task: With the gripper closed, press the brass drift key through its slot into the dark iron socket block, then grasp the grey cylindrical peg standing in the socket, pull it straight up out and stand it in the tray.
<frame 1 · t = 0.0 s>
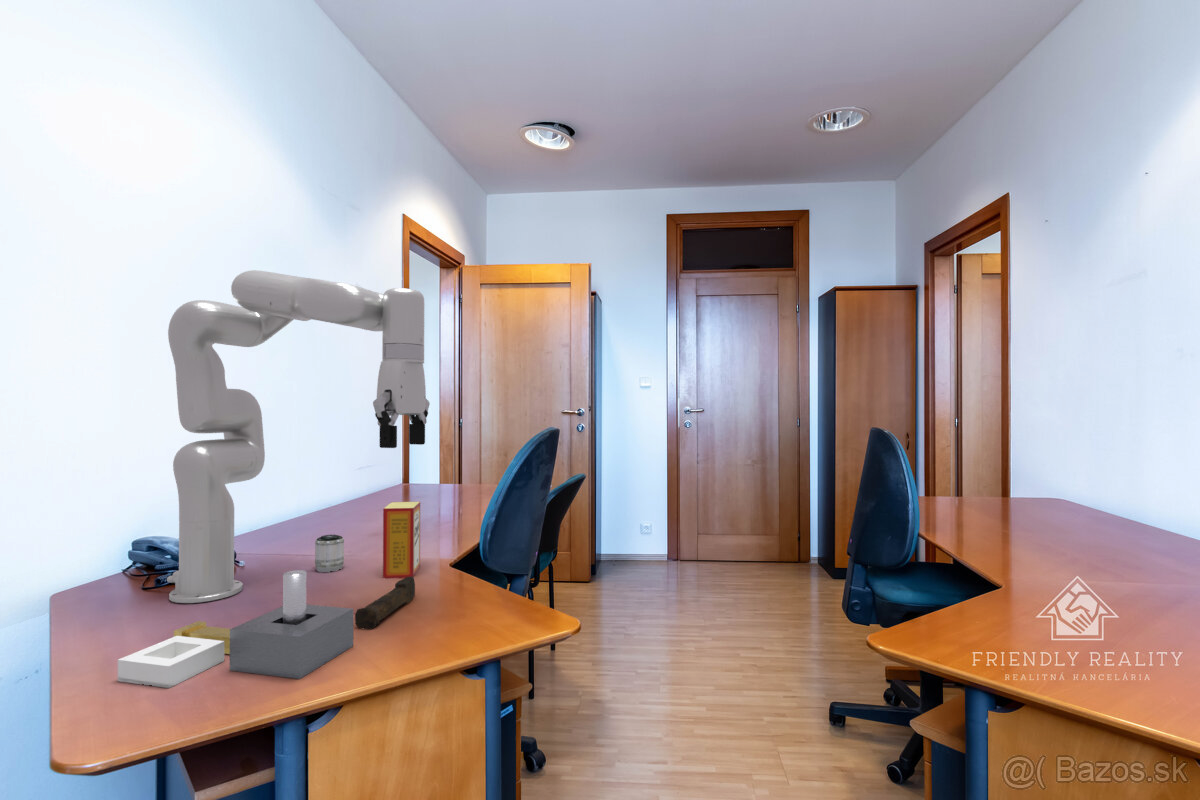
hand: (403, 445, 112), 31 cm above the table, tool pointing down, fingers open, 9 cm apart
baking soda box: (402, 573, 139), on the table
socket: (294, 657, 92), on the table
hand tool: (388, 613, 113), on the table
tray: (173, 670, 87), on the table
grey cylindrical peg: (294, 615, 92), in the socket
key: (218, 638, 95), point 2 cm above the table, slide at 0.0 cm
camera lens: (329, 570, 141), on the table
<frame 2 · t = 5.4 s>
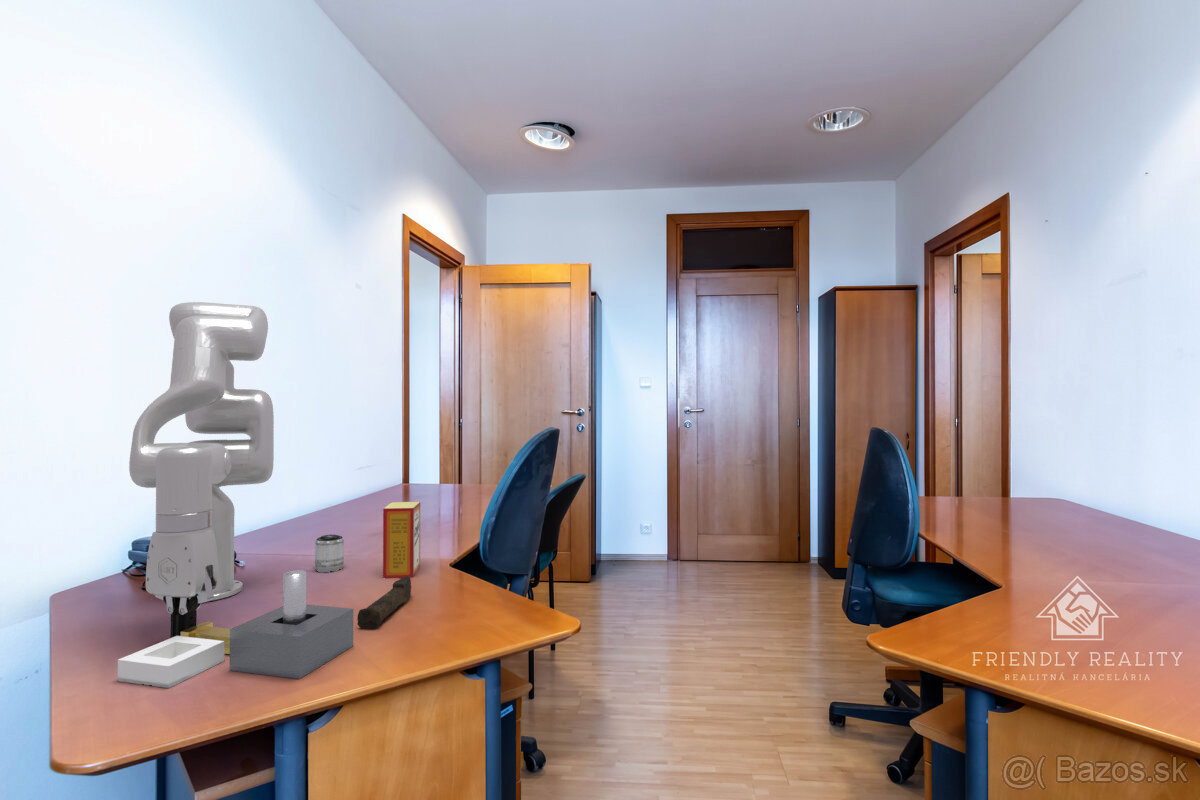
hand: (183, 635, 97), 1 cm above the table, tool pointing down, fingers closed
key: (225, 639, 95), point 2 cm above the table, slide at 1.4 cm, touching gripper
everything else where it was.
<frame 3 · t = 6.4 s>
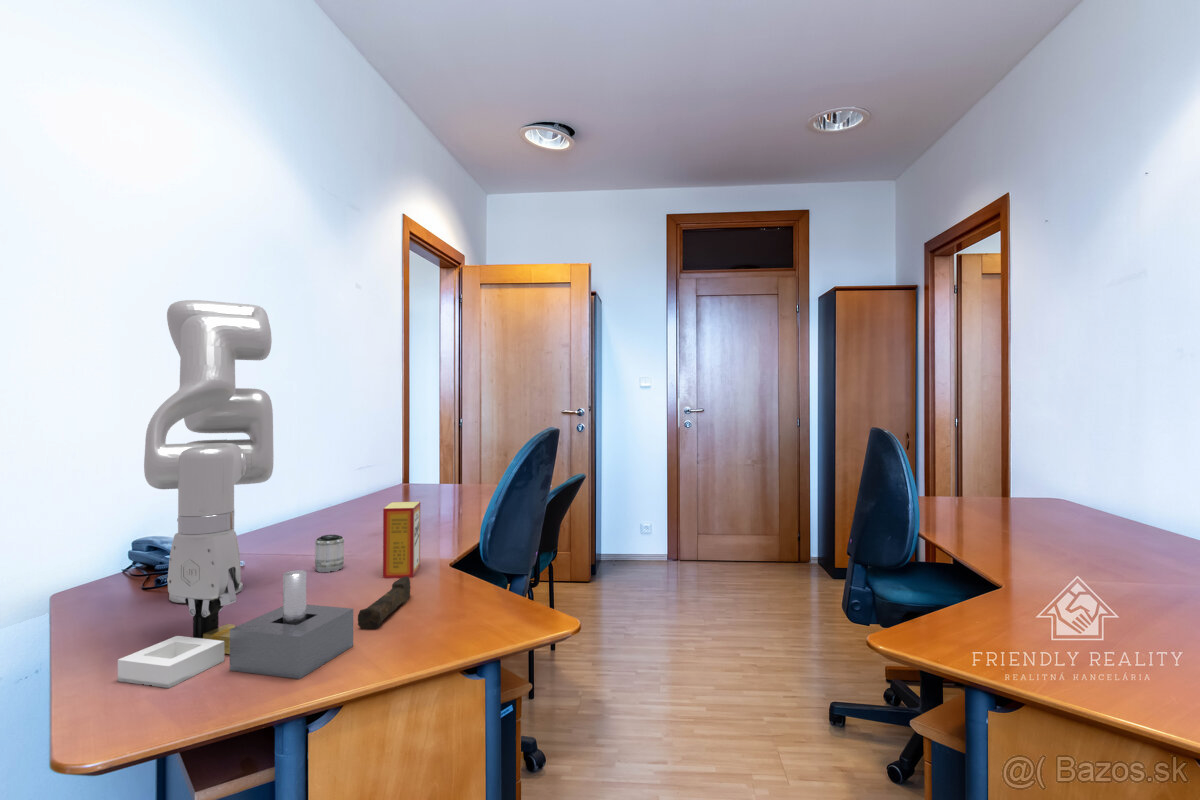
hand: (205, 638, 96), 1 cm above the table, tool pointing down, fingers closed
key: (248, 641, 94), point 2 cm above the table, slide at 5.7 cm, touching gripper
everything else where it was.
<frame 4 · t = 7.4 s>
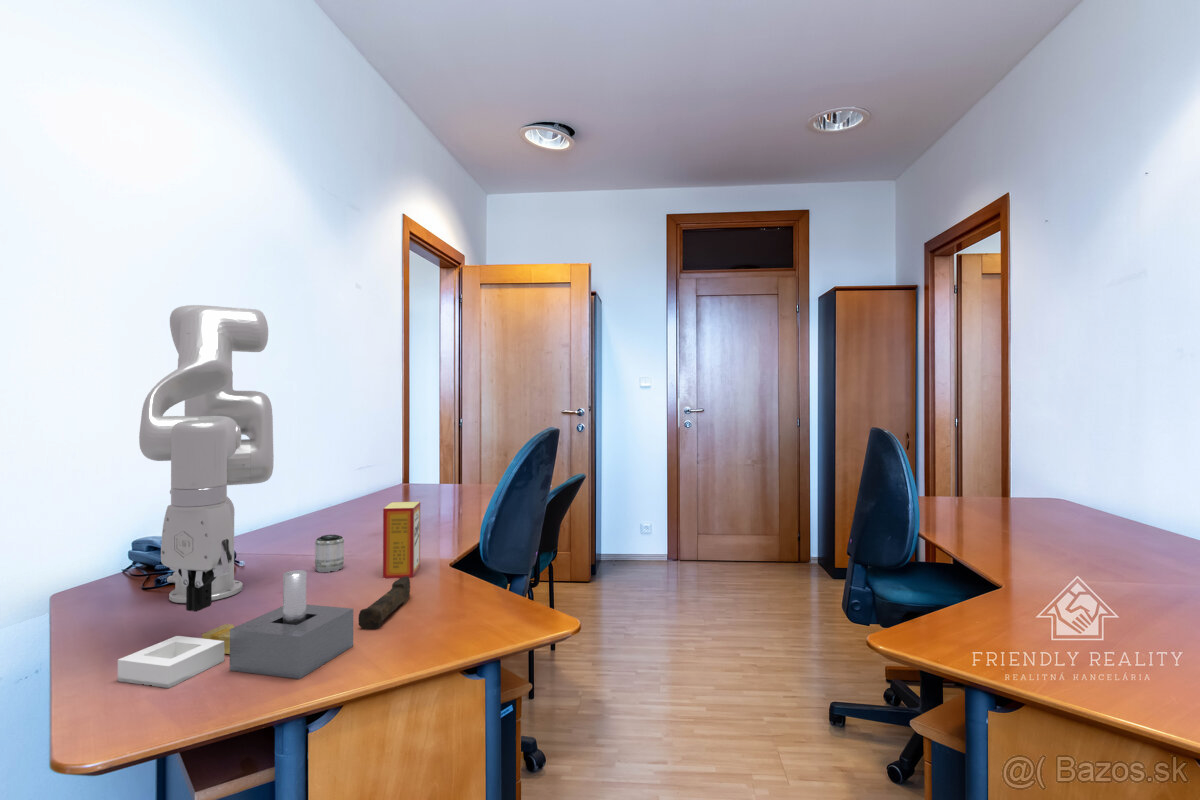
hand: (199, 608, 97), 6 cm above the table, tool pointing down, fingers closed
key: (246, 641, 94), point 2 cm above the table, slide at 5.5 cm
everything else where it was.
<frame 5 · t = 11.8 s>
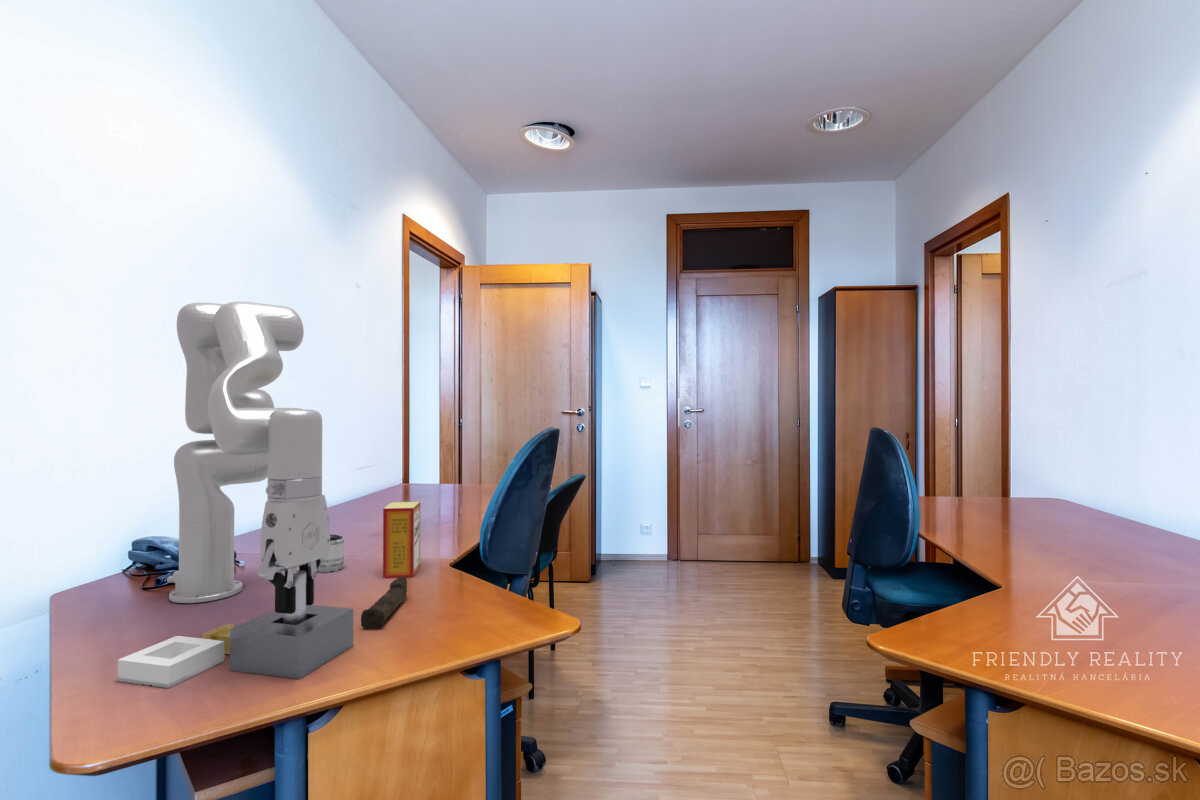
hand: (294, 607, 92), 8 cm above the table, tool pointing down, fingers closed on grey cylindrical peg, 3 cm apart
grey cylindrical peg: (294, 615, 92), in the socket, touching gripper
everything else where it was.
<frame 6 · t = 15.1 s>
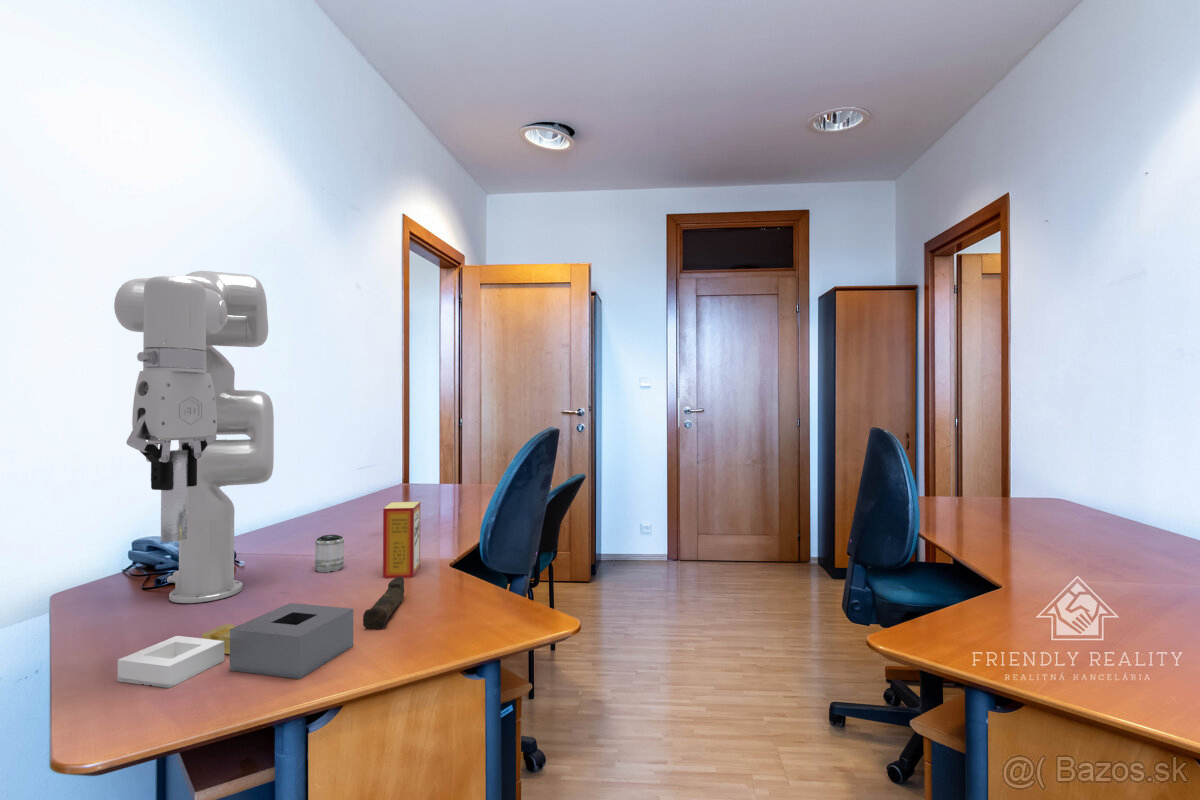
hand: (174, 486, 87), 27 cm above the table, tool pointing down, fingers closed on grey cylindrical peg, 3 cm apart
grey cylindrical peg: (174, 495, 87), point 26 cm above the table, touching gripper
when the fingers open (10 cm above the table, at t = 18.5 s): grey cylindrical peg drops 1 cm, resting on tray.
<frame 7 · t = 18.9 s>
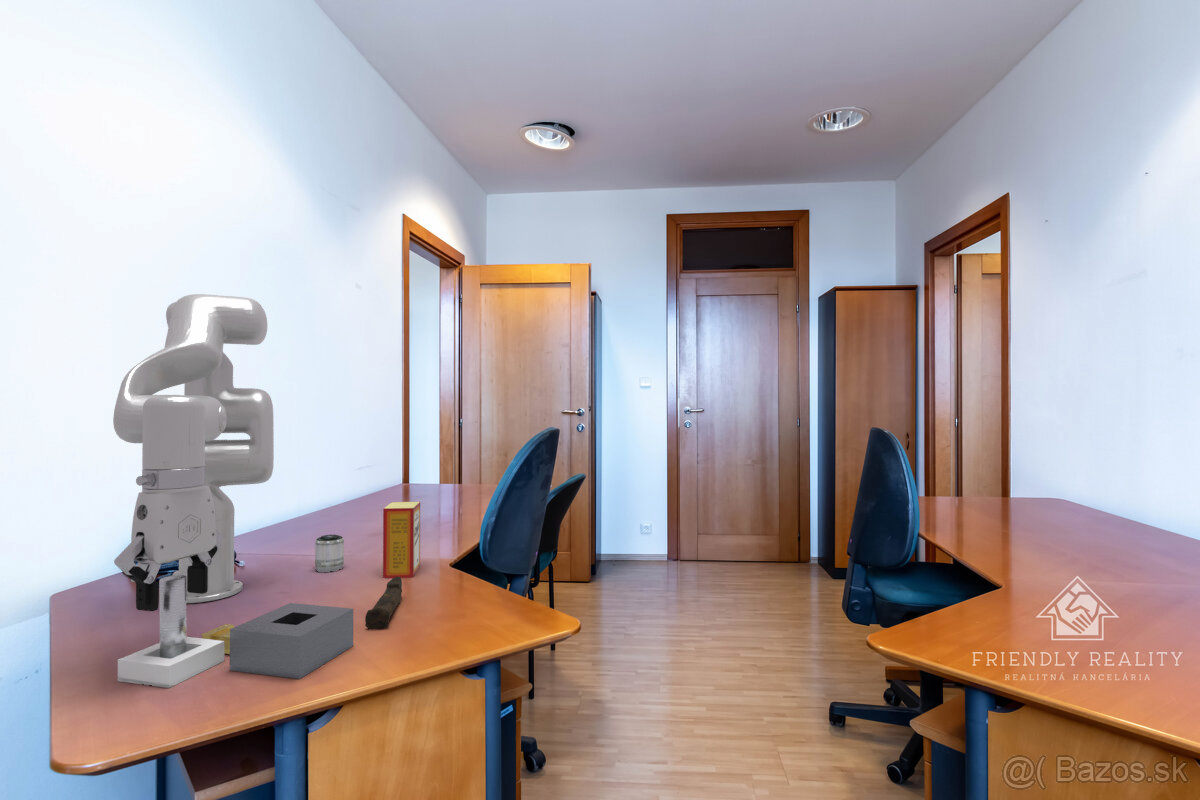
hand: (173, 600, 87), 10 cm above the table, tool pointing down, fingers open, 7 cm apart
grey cylindrical peg: (173, 622, 87), in the tray
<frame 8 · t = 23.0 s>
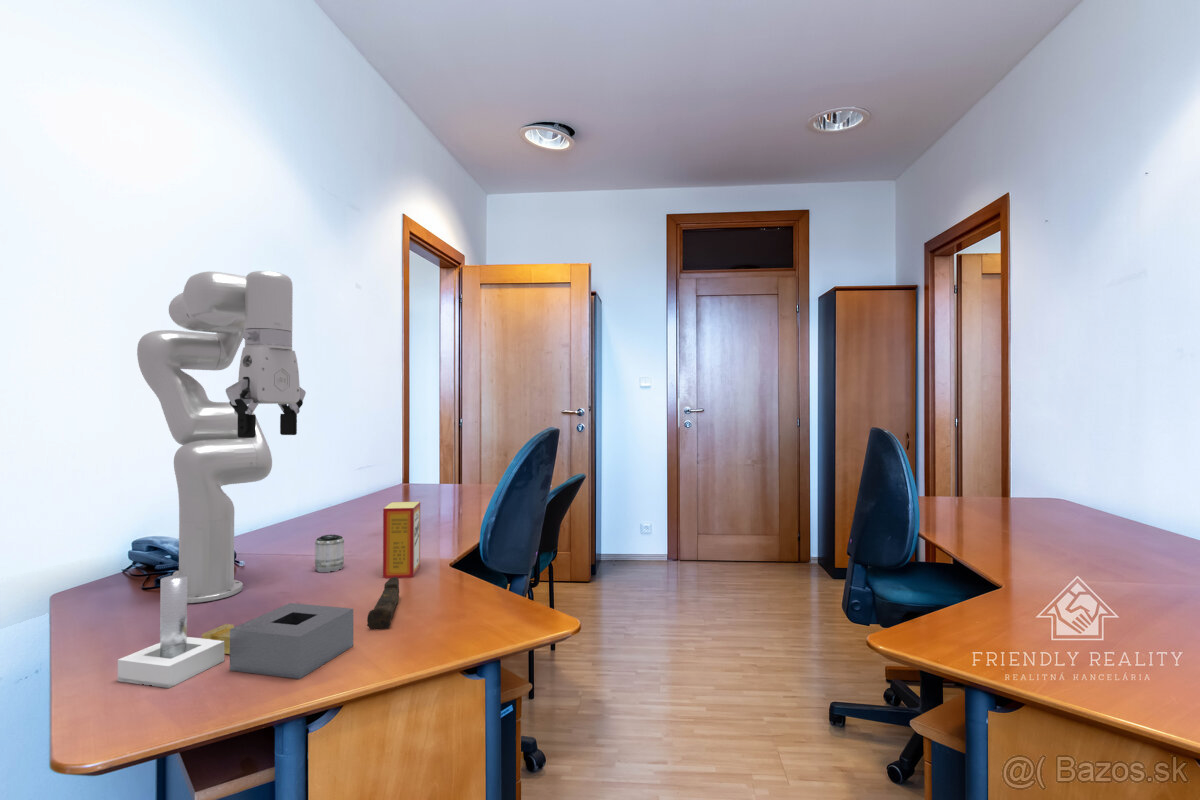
hand: (268, 436, 107), 33 cm above the table, tool pointing down, fingers open, 9 cm apart
at the end: key slide at 5.5 cm; grey cylindrical peg 0.1 cm off-centre on the tray, point 7.0 cm above the tray's base; grey cylindrical peg tilted 0° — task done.
